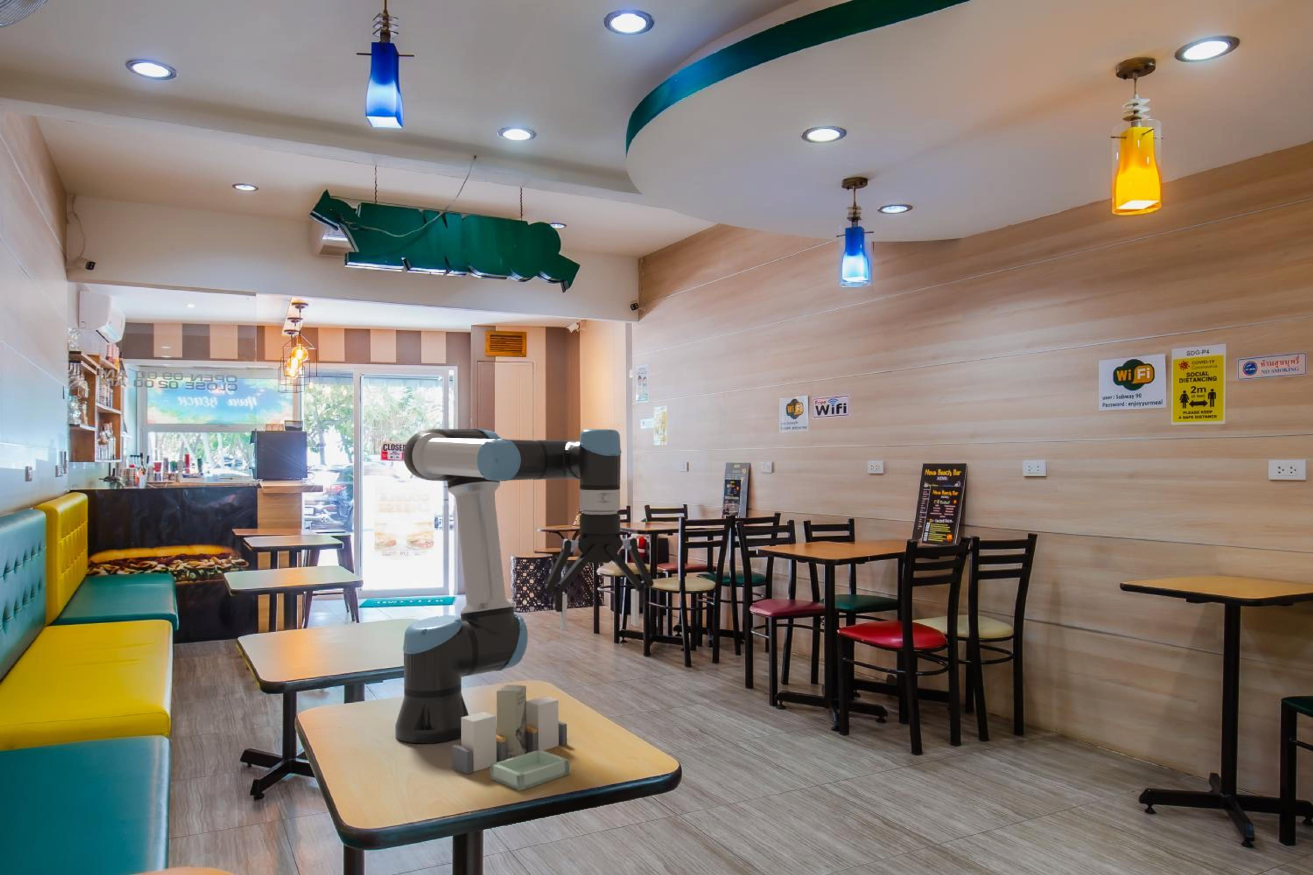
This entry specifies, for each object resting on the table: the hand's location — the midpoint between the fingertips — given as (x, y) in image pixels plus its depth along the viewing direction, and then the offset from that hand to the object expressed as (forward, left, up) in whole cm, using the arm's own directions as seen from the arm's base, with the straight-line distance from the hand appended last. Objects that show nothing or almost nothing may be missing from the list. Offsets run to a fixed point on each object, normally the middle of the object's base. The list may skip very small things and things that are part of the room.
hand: (599, 627), depth 162 cm
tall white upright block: (-17, -15, -25) cm, 34 cm away
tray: (-5, -12, -25) cm, 29 cm away
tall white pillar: (-17, 0, -25) cm, 31 cm away
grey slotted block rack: (-17, -8, -25) cm, 31 cm away
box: (-17, -8, -26) cm, 32 cm away
